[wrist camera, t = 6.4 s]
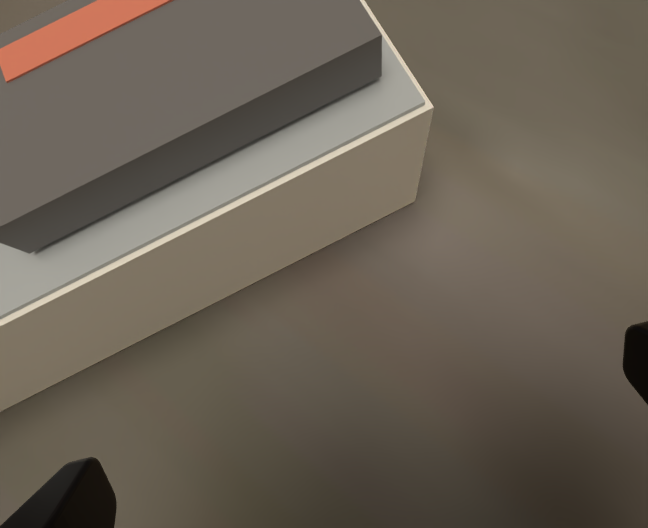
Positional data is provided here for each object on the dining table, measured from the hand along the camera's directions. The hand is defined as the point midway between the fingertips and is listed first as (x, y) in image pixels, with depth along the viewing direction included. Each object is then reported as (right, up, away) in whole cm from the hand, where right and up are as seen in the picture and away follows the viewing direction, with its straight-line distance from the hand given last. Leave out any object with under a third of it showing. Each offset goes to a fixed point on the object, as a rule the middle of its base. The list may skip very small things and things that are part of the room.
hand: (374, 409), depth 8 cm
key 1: (-6, +8, +7) cm, 12 cm away
